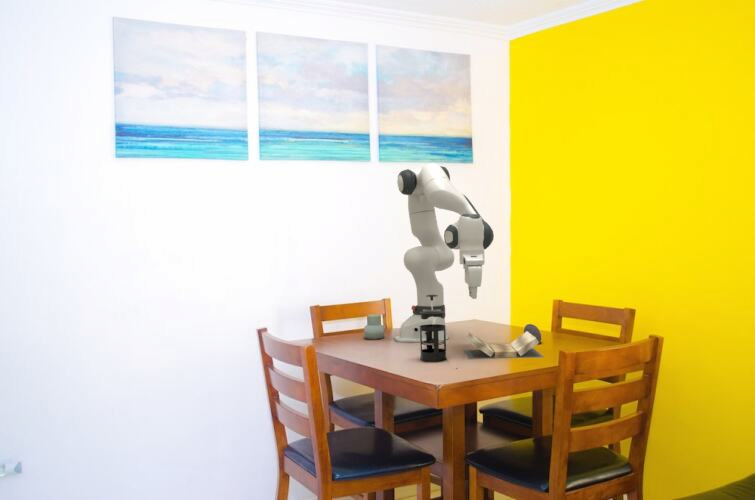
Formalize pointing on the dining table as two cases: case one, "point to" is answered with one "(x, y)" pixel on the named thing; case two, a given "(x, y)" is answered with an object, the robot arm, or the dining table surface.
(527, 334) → the right plank
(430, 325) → the french press
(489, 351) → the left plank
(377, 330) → the air freshener
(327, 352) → the dining table surface
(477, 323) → the dining table surface
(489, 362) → the dining table surface
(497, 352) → the fixed plank
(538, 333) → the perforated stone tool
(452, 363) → the dining table surface
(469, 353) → the underlay mat
